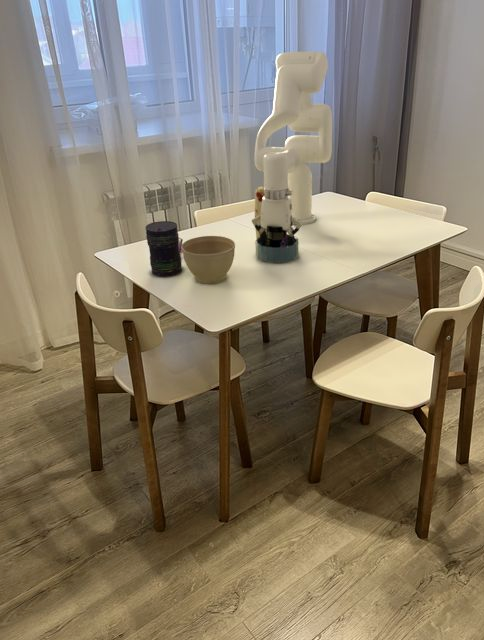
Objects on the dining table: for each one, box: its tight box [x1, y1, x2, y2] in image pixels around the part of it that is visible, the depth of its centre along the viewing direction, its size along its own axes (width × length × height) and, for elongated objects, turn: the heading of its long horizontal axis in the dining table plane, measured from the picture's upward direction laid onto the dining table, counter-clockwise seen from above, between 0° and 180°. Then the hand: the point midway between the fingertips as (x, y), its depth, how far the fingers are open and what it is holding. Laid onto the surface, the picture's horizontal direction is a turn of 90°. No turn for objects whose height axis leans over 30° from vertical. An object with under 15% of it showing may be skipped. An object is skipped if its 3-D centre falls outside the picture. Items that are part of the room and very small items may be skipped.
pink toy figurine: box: [178, 236, 183, 254], centre depth 185 cm, size 7×5×9 cm
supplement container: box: [267, 226, 288, 248], centre depth 178 cm, size 7×7×10 cm
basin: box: [255, 233, 299, 264], centre depth 180 cm, size 14×14×6 cm
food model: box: [254, 185, 267, 240], centre depth 189 cm, size 10×7×20 cm
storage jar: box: [145, 220, 183, 278], centre depth 169 cm, size 10×10×15 cm
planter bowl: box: [181, 235, 236, 284], centre depth 164 cm, size 16×16×11 cm
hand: (277, 245), depth 179 cm, fingers open, 9 cm apart
